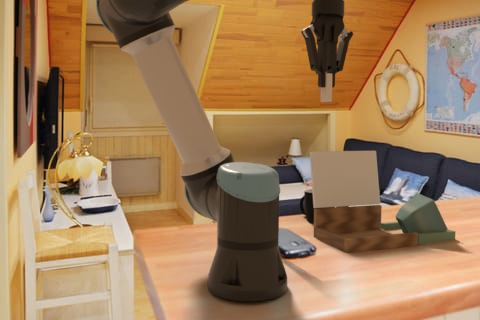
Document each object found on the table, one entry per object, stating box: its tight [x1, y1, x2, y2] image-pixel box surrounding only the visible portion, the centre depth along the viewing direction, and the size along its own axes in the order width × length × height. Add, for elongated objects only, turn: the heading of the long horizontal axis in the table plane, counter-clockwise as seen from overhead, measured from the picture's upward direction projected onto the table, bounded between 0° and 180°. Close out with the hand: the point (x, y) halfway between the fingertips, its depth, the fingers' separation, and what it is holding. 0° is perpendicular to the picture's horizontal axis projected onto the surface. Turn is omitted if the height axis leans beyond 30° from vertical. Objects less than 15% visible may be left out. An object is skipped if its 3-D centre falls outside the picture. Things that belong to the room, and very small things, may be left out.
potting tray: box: [381, 221, 456, 246], centre depth 120 cm, size 12×14×2 cm
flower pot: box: [395, 193, 448, 233], centre depth 119 cm, size 9×9×9 cm
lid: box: [309, 150, 381, 208], centre depth 122 cm, size 20×14×1 cm
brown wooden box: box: [313, 204, 419, 254], centre depth 115 cm, size 20×15×8 cm
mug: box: [299, 188, 336, 224], centre depth 134 cm, size 12×9×10 cm
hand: (326, 101), depth 110 cm, fingers closed
